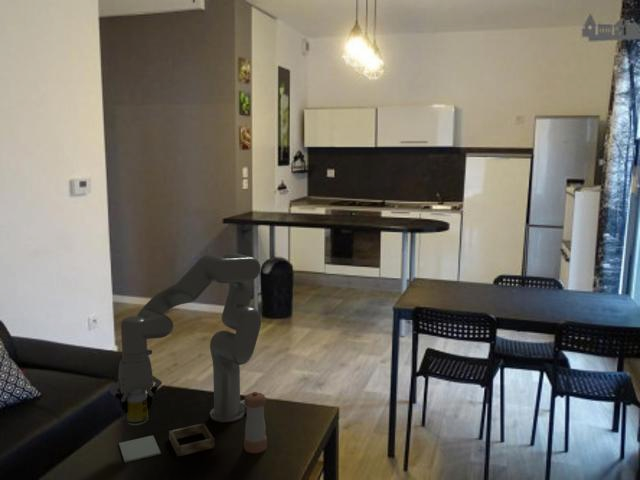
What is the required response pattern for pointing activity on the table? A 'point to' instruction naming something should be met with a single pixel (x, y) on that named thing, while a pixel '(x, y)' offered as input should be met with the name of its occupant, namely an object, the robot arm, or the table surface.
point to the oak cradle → (195, 445)
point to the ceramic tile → (139, 448)
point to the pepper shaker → (255, 423)
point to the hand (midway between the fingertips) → (137, 408)
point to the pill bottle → (137, 407)
